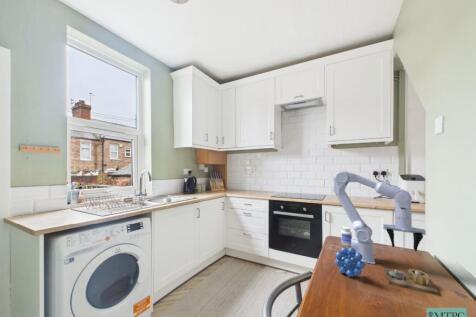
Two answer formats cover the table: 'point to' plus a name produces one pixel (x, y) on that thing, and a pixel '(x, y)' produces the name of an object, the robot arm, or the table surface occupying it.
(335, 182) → the robot arm
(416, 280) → the gear
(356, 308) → the table surface
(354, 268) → the grapes
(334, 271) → the table surface
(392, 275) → the gear board
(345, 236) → the pill bottle
